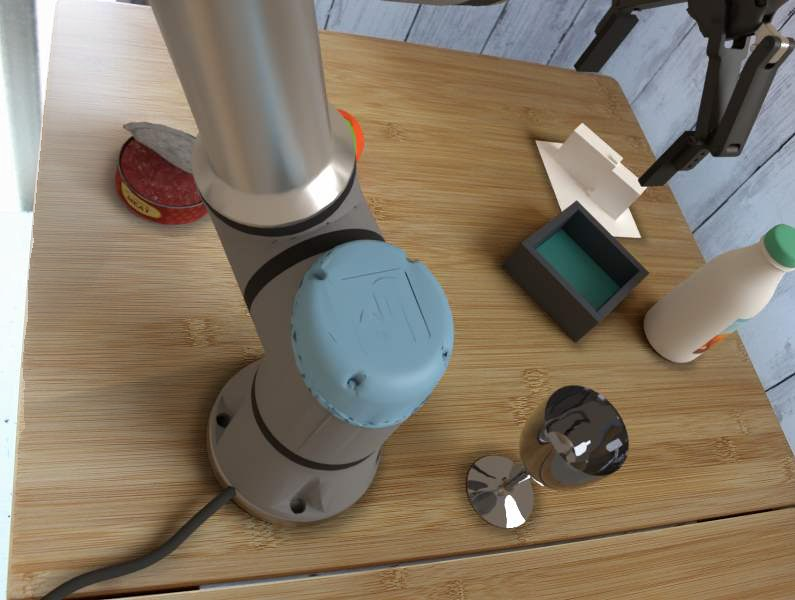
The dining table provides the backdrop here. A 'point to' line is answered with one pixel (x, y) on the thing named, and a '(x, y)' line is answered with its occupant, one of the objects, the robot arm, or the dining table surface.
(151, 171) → the canned food
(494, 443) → the dining table surface
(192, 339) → the dining table surface
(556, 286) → the dark grey open box
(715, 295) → the milk bottle
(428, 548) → the dining table surface
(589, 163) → the napkin holder
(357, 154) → the clementine
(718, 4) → the robot arm
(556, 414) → the wine glass
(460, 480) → the dining table surface
